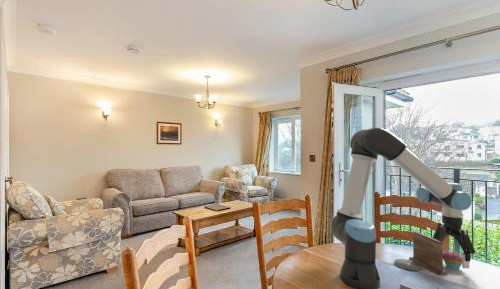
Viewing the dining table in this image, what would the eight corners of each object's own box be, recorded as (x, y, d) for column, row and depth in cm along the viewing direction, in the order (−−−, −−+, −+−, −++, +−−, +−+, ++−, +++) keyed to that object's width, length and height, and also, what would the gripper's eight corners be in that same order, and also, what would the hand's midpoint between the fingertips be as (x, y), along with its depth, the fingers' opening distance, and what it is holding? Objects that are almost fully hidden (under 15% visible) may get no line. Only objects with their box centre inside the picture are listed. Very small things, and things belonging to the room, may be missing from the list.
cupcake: (468, 273, 116) (468, 246, 117) (446, 271, 118) (446, 244, 118) (457, 265, 125) (457, 240, 125) (437, 263, 126) (437, 238, 127)
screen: (436, 274, 113) (436, 242, 114) (409, 259, 130) (409, 231, 131) (447, 274, 114) (447, 242, 114) (418, 259, 131) (418, 231, 131)
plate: (404, 271, 116) (405, 268, 116) (389, 261, 127) (389, 258, 127) (427, 270, 117) (427, 268, 117) (410, 260, 128) (410, 258, 128)
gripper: (485, 222, 110) (486, 273, 109) (437, 210, 135) (437, 251, 134) (469, 222, 109) (470, 274, 109) (424, 210, 134) (424, 251, 133)
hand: (452, 261), depth 121 cm, fingers open, 13 cm apart
